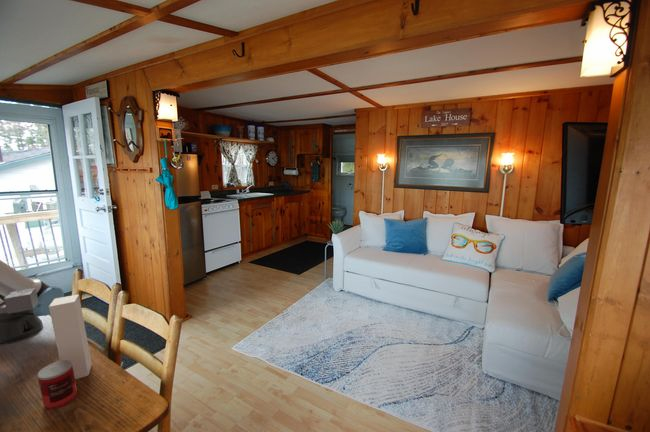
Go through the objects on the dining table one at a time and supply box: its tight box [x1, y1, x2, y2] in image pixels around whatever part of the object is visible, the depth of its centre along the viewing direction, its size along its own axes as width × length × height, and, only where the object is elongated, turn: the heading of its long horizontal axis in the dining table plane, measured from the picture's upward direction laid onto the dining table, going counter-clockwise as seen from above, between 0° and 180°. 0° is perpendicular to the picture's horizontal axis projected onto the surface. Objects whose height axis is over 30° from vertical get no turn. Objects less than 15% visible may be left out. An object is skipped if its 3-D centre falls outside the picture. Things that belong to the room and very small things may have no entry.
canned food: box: [37, 360, 78, 410], centre depth 87 cm, size 8×8×11 cm
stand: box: [49, 293, 93, 380], centre depth 96 cm, size 6×6×28 cm
